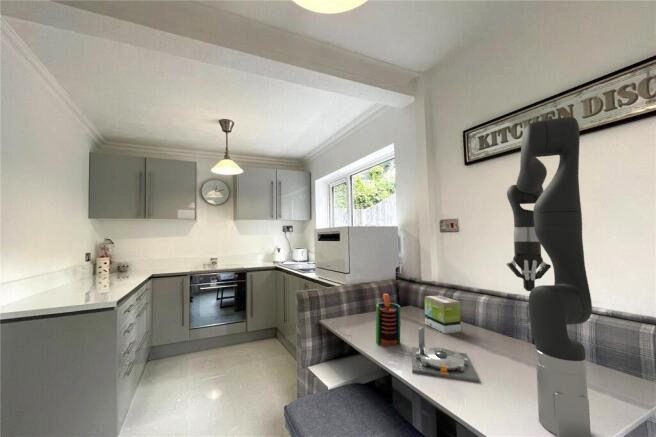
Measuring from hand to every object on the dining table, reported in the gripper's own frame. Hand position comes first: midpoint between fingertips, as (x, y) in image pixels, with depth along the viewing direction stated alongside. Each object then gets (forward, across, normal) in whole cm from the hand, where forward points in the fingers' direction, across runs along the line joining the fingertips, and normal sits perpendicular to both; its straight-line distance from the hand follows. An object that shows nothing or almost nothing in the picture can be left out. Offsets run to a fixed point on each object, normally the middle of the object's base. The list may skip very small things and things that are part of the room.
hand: (529, 290), depth 94 cm
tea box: (+27, +24, -40) cm, 54 cm away
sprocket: (+26, +29, +3) cm, 39 cm away
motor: (+27, +49, -12) cm, 57 cm away
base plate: (+27, +29, +3) cm, 40 cm away
